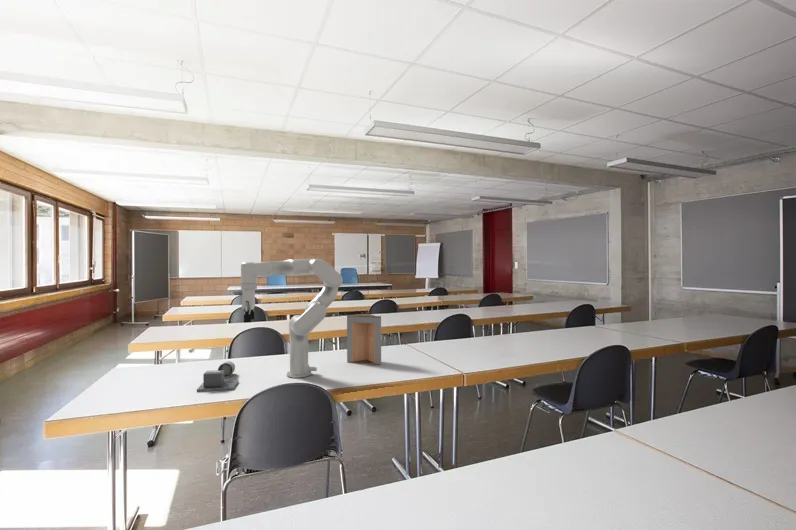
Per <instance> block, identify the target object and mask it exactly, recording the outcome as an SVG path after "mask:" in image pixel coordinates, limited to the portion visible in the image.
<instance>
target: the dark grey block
mask: <svg viewBox="0 0 796 530" xmlns="http://www.w3.org/2000/svg"><path fill="white" fill-rule="evenodd" d="M202 376H203V382H202V383H203V387H209V386H222V385H223V383H224V381H225V378H224V370H218V369H216V370H206V371H205V372H204V373H203V375H202Z"/></svg>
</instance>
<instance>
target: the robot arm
mask: <svg viewBox="0 0 796 530" xmlns="http://www.w3.org/2000/svg"><path fill="white" fill-rule="evenodd" d="M306 275H307V276H309V275H310V276H311V275H316V276H317V278H319V279H320V280H322V283H323V284H322V285H323V287H322V289H321V291H320V292H319V293H318V294H317V295H316V296H315V297H314V298H313V299H312V300H310V302H309V303H308V304H307V305H306V306H305V309H304V312H303V313H302V314H295V315H293V316H292V317H291V318H290V320H289V323H288V332H289V333H288V334H289V371H288V372H287V373H286V376H287V377H289V378H292V379H293V378H294V379H300V378H307V377H310V376H311V375H312V372H316V371H318V367H316V366H310V364H309V335H308V334H310V333H311V332H312V331H313V330H315V328H317V326H318V325H319V324H320V323H321V322H323V320H324V319H325V318H326V315H327V312H328V311H327V308H329V306H331V304H332V303H333V302H334V301H335V299H336V298H337V296H338V293H339V292H338V291H339V287H341V286H342V285H343V283H344V282H343V276H342V274H340V273H339V272H338V271H337V270H336V269H334V268H333V267H332V266H331V265H330V264H329V263H327V262H326V261H325V260H324V259H322V258H300V259H299V258H297V259H295V258H294V259H285V260H278V261H277V260H276V261H275V260H273V261H260V262H252V261H251V262H249V261H248V262H246V261H245V262H242V263H241V265H240V289H241V291H242V297H241V310H243V323H252V320H255V306H256V290H258V280H257V279H258V277H264V278H266V277H269V276H289V277H291V276H295V277H296V276H306Z"/></svg>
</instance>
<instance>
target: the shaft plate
mask: <svg viewBox="0 0 796 530" xmlns="http://www.w3.org/2000/svg"><path fill="white" fill-rule="evenodd" d="M238 384H239V379H231V380H224V383H223V385H222V386H209V387H203V382H202V383H201V384H200V385H199V387H197V389H196V393H200V392H201V393H204V392H219V391H222V392H223V391H234V390H235V388H236V387H237V385H238Z"/></svg>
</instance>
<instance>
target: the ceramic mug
mask: <svg viewBox="0 0 796 530" xmlns="http://www.w3.org/2000/svg"><path fill="white" fill-rule="evenodd" d="M217 370H224V379H227V378H230V377H231V376H232V375H233V373H234V372H235V370H236V365H235V363H234V362H233V361H231V360H227V361H224V362H222V363H221V364H220V365H219V366H218V368H217Z"/></svg>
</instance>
